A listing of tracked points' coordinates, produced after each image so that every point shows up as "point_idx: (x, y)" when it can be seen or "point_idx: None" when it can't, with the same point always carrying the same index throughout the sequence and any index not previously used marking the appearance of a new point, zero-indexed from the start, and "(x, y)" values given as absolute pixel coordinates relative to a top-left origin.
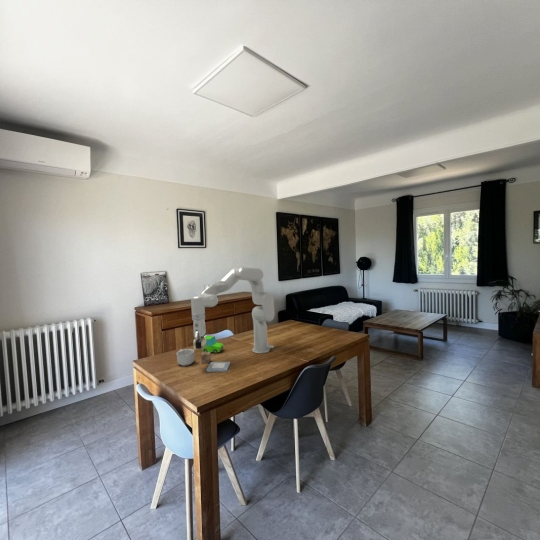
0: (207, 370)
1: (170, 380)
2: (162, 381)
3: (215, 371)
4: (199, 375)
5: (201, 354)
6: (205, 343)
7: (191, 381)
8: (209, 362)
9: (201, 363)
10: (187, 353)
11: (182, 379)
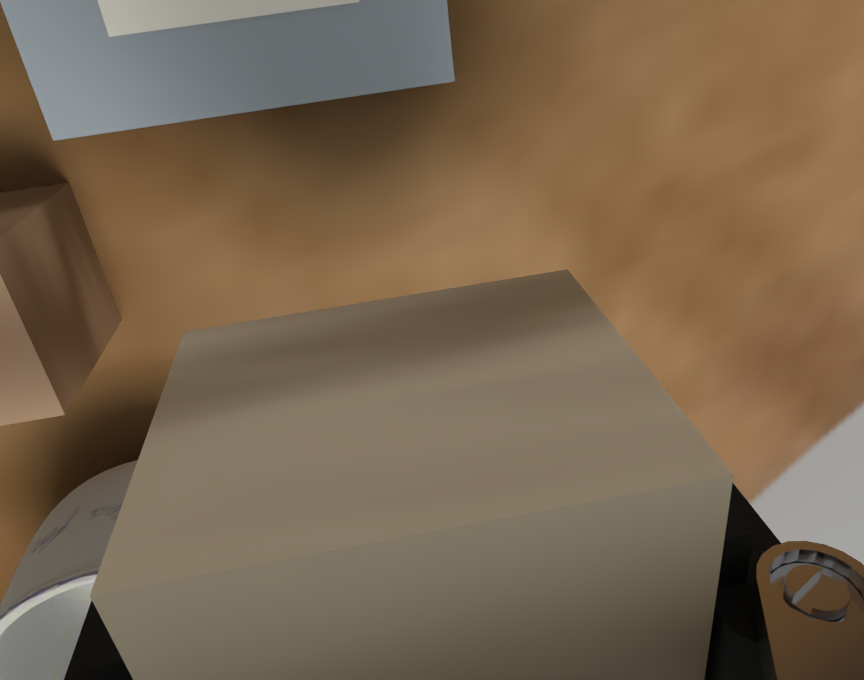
0: (451, 58)
1: (734, 440)
2: (748, 502)
3: None
4: (603, 138)
5: (51, 404)
6: (303, 382)
7: (808, 169)
8: (22, 191)
9: (116, 317)
10: (35, 656)
11: (723, 321)
